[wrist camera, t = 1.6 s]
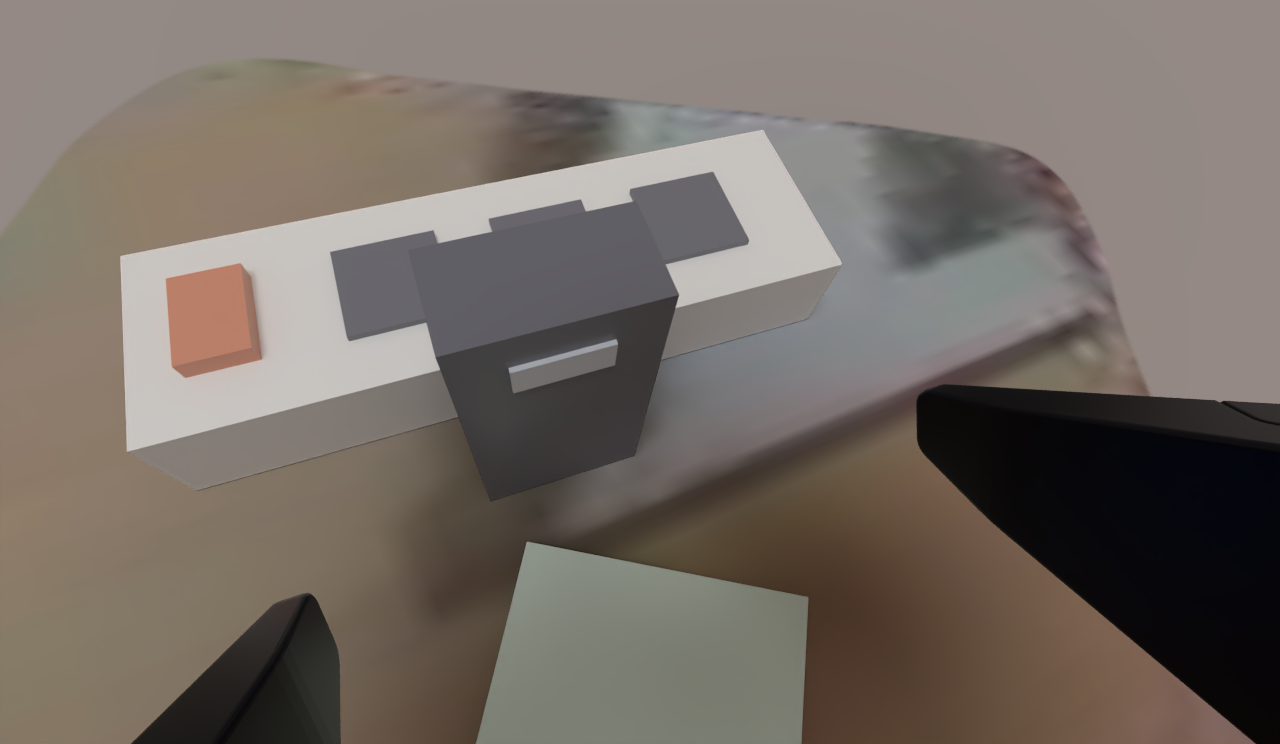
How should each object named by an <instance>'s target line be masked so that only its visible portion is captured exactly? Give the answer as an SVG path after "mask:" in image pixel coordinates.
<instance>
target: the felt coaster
mask: <svg viewBox="0 0 1280 744" xmlns="http://www.w3.org/2000/svg"><path fill="white" fill-rule="evenodd" d="M807 617H808V597H805V596H800V595H795V594H790V593H785V592H780V591H775V590H770V589H765V588H760V587H755V586H749V585H744V584H739V583H734V582H729V581H724V580H719V579H714V578H709V577H704V576H699V575H694V574H689V573H684V572H679V571H674V570H668V569H663V568H658V567H653V566H648V565H643V564H638V563H633V562H628V561H623V560H618V559H613V558H608V557H603V556H598V555H593V554H588V553H582V552H577V551H572V550H567V549H562V548H557V547H552V546H547V545H542V544H537V543H532V542H527V543H526V547H525V551H524V555H523V559H522V563H521V567H520V571H519V575H518V579H517V583H516V587H515V591H514V595H513V599H512V603H511V607H510V611H509V615H508V619H507V623H506V627H505V631H504V635H503V639H502V643H501V647H500V650H499V654H498V658H497V662H496V666H495V670H494V674H493V678H492V682H491V686H490V690H489V694H488V698H487V702H486V706H485V710H484V714H483V718H482V722H481V726H480V730H479V734H478V738H477V742H476V744H801V742H802V721H803V700H804V679H805V659H806V638H807Z"/></svg>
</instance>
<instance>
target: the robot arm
mask: <svg viewBox="0 0 1280 744" xmlns="http://www.w3.org/2000/svg"><path fill="white" fill-rule="evenodd" d="M916 413H917V441H918V445H919V447H920V449H921V451H922V452H923V454H924V455H925V456H926V457H927V458H928V459H929V460H930V461H931V462H932V463H933V464H934V465H935V466H936V467H937V468H938V469H939V470H940V471H941V472H942V473H943V474H944V475H945V476H946V477H947V478H948V479H949V480H950V481H951V482H952V483H953V484H954V485H955V486H956V487H957V488H958V489H959V490H960V491H961V492H962V493H963V494H964V495H965V496H966V497H967V498H968V499H969V501H970V502H971V503H972V504H973V505H974V506H975V507H976V508H977V509H978V510H979V511H980V512H982V513H983V514H984V515H985V516H986V517H987V518H988V519H989V520H990V521H991V522H992V523H993V524H994V525H996V526H997V527H998V528H999V529H1000V530H1001V531H1002V532H1004V533H1005V534H1006V535H1007V536H1008V537H1010V538H1011V539H1012V540H1013V541H1014V542H1015V543H1017V544H1018V545H1019V546H1020V547H1021V548H1023V549H1024V550H1025V551H1026V552H1027V553H1029V554H1030V555H1031V556H1032V557H1033V558H1035V559H1036V560H1037V561H1038V562H1039V563H1041V564H1042V565H1043V566H1044V567H1045V568H1047V569H1048V570H1049V571H1050V572H1051V573H1052V574H1054V575H1055V576H1056V577H1057V578H1058V579H1060V580H1061V581H1062V582H1063V583H1064V584H1066V585H1067V586H1068V587H1069V588H1070V589H1072V590H1073V591H1074V592H1075V593H1076V594H1078V595H1079V596H1080V597H1081V598H1082V599H1083V600H1085V601H1086V602H1087V603H1088V604H1089V605H1091V606H1092V607H1093V608H1094V609H1095V610H1097V611H1098V612H1099V613H1100V614H1101V615H1103V616H1104V617H1105V618H1106V619H1107V620H1109V621H1110V622H1111V623H1112V624H1113V625H1115V626H1116V627H1117V628H1118V629H1119V630H1120V631H1122V632H1123V633H1124V634H1125V635H1126V636H1128V637H1129V638H1130V639H1131V640H1132V641H1134V642H1135V643H1136V644H1137V645H1138V646H1140V647H1141V648H1142V649H1143V650H1144V651H1146V652H1147V653H1148V654H1149V655H1150V656H1152V657H1153V658H1154V659H1155V660H1156V661H1157V662H1159V663H1160V664H1161V665H1162V666H1163V667H1165V668H1166V669H1167V670H1168V671H1169V672H1171V673H1172V674H1173V675H1174V676H1175V677H1177V678H1178V679H1179V680H1180V681H1181V682H1183V683H1184V684H1185V685H1186V686H1187V687H1189V688H1190V689H1191V690H1192V691H1193V692H1194V693H1196V694H1197V695H1198V696H1199V697H1200V698H1202V699H1203V700H1204V701H1205V702H1206V703H1208V704H1209V705H1210V706H1211V707H1212V708H1214V709H1215V710H1216V711H1217V712H1218V713H1220V714H1221V715H1222V716H1223V717H1224V718H1226V719H1227V720H1228V721H1229V722H1230V723H1231V724H1233V725H1234V726H1235V727H1236V728H1237V729H1239V730H1240V731H1241V732H1242V733H1243V734H1245V735H1246V736H1247V737H1248V738H1249V739H1251V740H1252V741H1253V742H1254V743H1255V744H1280V404H1270V403H1269V404H1268V403H1250V402H1234V401H1222V402H1217V401H1215V400H1200V399H1182V398H1166V397H1150V396H1133V395H1117V394H1100V393H1083V392H1067V391H1050V390H1033V389H1017V388H1000V387H984V386H967V385H950V384H942V385H938V386H935V387H932V388H929V389H926V390H924V391H922V392H921V393H920V394H919V395H918V397H917V401H916ZM131 744H341V738H340V664H339V654H338V649H337V646H336V643H335V640H334V638H333V636H332V633H331V631H330V629H329V627H328V624H327V622H326V620H325V617H324V615H323V613H322V611H321V608H320V606H319V604H318V602H317V600H316V598H315V597H314V596H313V595H311V594H309V593H304V594H300V595H297V596H294V597H291V598H288V599H285V600H282V601H279V602H277V603H275V604H273V605H272V606H271V607H270V608H269V609H268V610H267V611H266V612H265V613H264V614H263V615H262V616H261V617H260V618H259V619H258V620H257V621H256V622H255V623H254V624H253V625H252V626H251V627H250V628H249V629H248V630H247V631H246V632H245V633H244V634H243V635H242V636H241V637H240V638H239V639H238V640H237V641H235V642H234V643H233V644H232V645H231V646H230V647H229V648H228V649H227V650H226V651H225V652H224V653H223V654H222V655H221V656H220V657H219V658H218V659H217V660H216V661H215V662H214V663H213V664H212V665H211V666H210V667H209V668H208V669H207V670H206V671H205V672H204V673H203V674H202V675H201V676H200V677H199V678H198V679H197V680H196V681H195V682H194V683H193V684H192V685H191V686H190V687H189V688H187V689H186V690H185V691H184V692H183V693H182V694H181V695H180V696H179V697H178V698H177V699H176V700H175V701H174V702H173V703H172V704H171V705H170V706H169V707H168V708H167V709H166V710H165V711H164V712H163V713H162V714H161V715H160V716H159V717H158V718H157V719H156V720H155V721H154V722H153V723H152V724H151V725H150V726H149V727H148V728H147V729H146V730H145V731H144V732H143V733H142V734H141V735H140V736H138V737H137V738H136V739H135V740H134V741H133V742H132V743H131Z"/></svg>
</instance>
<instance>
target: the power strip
mask: <svg viewBox="0 0 1280 744" xmlns="http://www.w3.org/2000/svg"><path fill="white" fill-rule="evenodd" d="M633 201H637V203H638V205H639V207H640V210H641V212H642V214H643V216H644V218H645V221H646V223H647V225H648V227H649V229H650V232H651V234H652V236H653V238H654V240H655V243H656V245H657V247H658V249H659V251H660V254H661V256H662V258H663V260H664V262H665V265H666V267H667V269H668V271H669V273H670V276H671V278H672V280H673V282H674V284H675V287H676V289H677V291H678V293H679V298H678V301H677V305H676V308H675V312H674V315H673V319H672V323H671V326H670V330H669V333H668V337H667V340H666V344H665V348H664V351H663V355H662V358H661V360H663V359H667V358H670V357H674V356H677V355H681V354H684V353H688V352H692V351H695V350H699V349H702V348H706V347H709V346H713V345H716V344H720V343H724V342H727V341H731V340H734V339H738V338H741V337H745V336H748V335H752V334H756V333H759V332H763V331H766V330H770V329H773V328H777V327H780V326H784V325H788V324H791V323H795V322H798V321H802V320H805V319H808V318H809V316H810V315H811V313H812V312H813V310H814V308H815V307H816V305H817V304H818V302H819V301H820V299H821V297H822V296H823V294H824V293H825V291H826V290H827V288H828V286H829V285H830V283H831V282H832V280H833V279H834V277H835V275H836V274H837V272H838V271H839V269H840V268H841V266H842V263H841V261H840V259H839V258H838V256H837V254H836V253H835V251H834V249H833V247H832V246H831V244H830V242H829V241H828V239H827V237H826V236H825V234H824V232H823V231H822V229H821V227H820V226H819V224H818V222H817V220H816V219H815V217H814V215H813V214H812V212H811V210H810V209H809V207H808V205H807V204H806V202H805V200H804V198H803V197H802V195H801V193H800V192H799V190H798V188H797V187H796V185H795V183H794V182H793V180H792V178H791V177H790V175H789V173H788V171H787V170H786V168H785V166H784V165H783V163H782V161H781V160H780V158H779V156H778V155H777V153H776V151H775V150H774V148H773V146H772V144H771V143H770V141H769V139H768V138H767V136H766V134H765V133H764V131H763V130H759V131H754V132H749V133H744V134H739V135H734V136H729V137H723V138H718V139H713V140H708V141H703V142H698V143H693V144H688V145H683V146H678V147H673V148H668V149H662V150H657V151H652V152H647V153H642V154H637V155H632V156H627V157H622V158H617V159H612V160H607V161H601V162H596V163H591V164H586V165H581V166H576V167H571V168H566V169H561V170H556V171H551V172H545V173H540V174H535V175H530V176H525V177H520V178H515V179H510V180H505V181H500V182H495V183H490V184H484V185H479V186H474V187H469V188H464V189H459V190H454V191H449V192H444V193H439V194H434V195H428V196H423V197H418V198H413V199H408V200H403V201H398V202H393V203H388V204H383V205H378V206H373V207H367V208H362V209H357V210H352V211H347V212H342V213H337V214H332V215H327V216H322V217H317V218H312V219H306V220H301V221H296V222H291V223H286V224H281V225H276V226H271V227H266V228H261V229H256V230H250V231H245V232H240V233H235V234H230V235H225V236H220V237H215V238H210V239H205V240H200V241H195V242H189V243H184V244H179V245H174V246H169V247H164V248H159V249H154V250H149V251H144V252H139V253H134V254H128V255H123V256H120V259H121V288H122V317H123V347H124V376H125V406H126V435H127V452H128V453H130V454H132V455H134V456H135V457H137V458H139V459H141V460H143V461H144V462H146V463H148V464H150V465H152V466H153V467H155V468H157V469H159V470H160V471H162V472H164V473H166V474H168V475H169V476H171V477H173V478H175V479H177V480H178V481H180V482H182V483H184V484H185V485H187V486H189V487H191V488H193V489H194V490H196V491H197V490H201V489H205V488H208V487H212V486H215V485H219V484H222V483H226V482H229V481H233V480H237V479H240V478H244V477H247V476H251V475H254V474H258V473H261V472H265V471H269V470H272V469H276V468H279V467H283V466H286V465H290V464H293V463H297V462H301V461H304V460H308V459H311V458H315V457H318V456H322V455H325V454H329V453H333V452H336V451H340V450H343V449H347V448H350V447H354V446H357V445H361V444H365V443H368V442H372V441H375V440H379V439H382V438H386V437H389V436H393V435H397V434H400V433H404V432H407V431H411V430H414V429H418V428H421V427H425V426H429V425H432V424H436V423H439V422H443V421H446V420H450V419H453V418H457V417H458V415H457V412H456V410H455V407H454V404H453V402H452V399H451V397H450V394H449V391H448V389H447V386H446V384H445V381H444V378H443V376H442V373H441V371H440V368H439V365H438V363H437V360H436V358H435V354H434V350H433V346H432V342H431V338H430V335H429V331H428V327H427V323H426V319H425V315H424V311H423V308H422V304H421V300H420V296H419V292H418V288H417V284H416V281H415V277H414V273H413V269H412V265H411V261H410V257H409V253H408V250H410V249H414V248H419V247H423V246H428V245H433V244H437V243H442V242H447V241H451V240H456V239H461V238H465V237H470V236H475V235H479V234H484V233H489V232H493V231H498V230H503V229H507V228H512V227H517V226H521V225H526V224H531V223H535V222H540V221H544V220H549V219H554V218H558V217H563V216H568V215H572V214H577V213H582V212H586V211H591V210H596V209H600V208H605V207H610V206H614V205H619V204H624V203H628V202H633Z"/></svg>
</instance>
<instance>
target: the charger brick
mask: <svg viewBox="0 0 1280 744" xmlns="http://www.w3.org/2000/svg"><path fill="white" fill-rule="evenodd" d="M408 253H409V257H410V261H411V265H412V269H413V273H414V277H415V281H416V284H417V288H418V292H419V296H420V300H421V304H422V308H423V311H424V315H425V319H426V323H427V327H428V331H429V335H430V338H431V342H432V346H433V350H434V354H435V358H436V360H437V363H438V365H439V368H440V371H441V373H442V376H443V378H444V381H445V384H446V386H447V389H448V391H449V394H450V397H451V399H452V402H453V404H454V407H455V410H456V412H457V415H458V417H459V420H460V423H461V425H462V428H463V430H464V433H465V436H466V438H467V441H468V443H469V446H470V449H471V451H472V454H473V456H474V459H475V462H476V464H477V467H478V469H479V472H480V475H481V477H482V480H483V482H484V485H485V488H486V490H487V493H488V495H489V498H490V501H493V500H496V499H499V498H502V497H506V496H509V495H512V494H515V493H518V492H521V491H524V490H528V489H531V488H534V487H537V486H540V485H543V484H547V483H550V482H553V481H556V480H559V479H562V478H566V477H569V476H572V475H575V474H578V473H581V472H585V471H588V470H591V469H594V468H597V467H600V466H604V465H607V464H610V463H613V462H616V461H619V460H622V459H626V458H629V457H632V456H634V455H635V451H636V448H637V444H638V440H639V437H640V433H641V430H642V426H643V423H644V419H645V415H646V412H647V408H648V405H649V401H650V398H651V394H652V390H653V387H654V383H655V380H656V376H657V373H658V369H659V365H660V362H661V358H662V355H663V351H664V348H665V344H666V340H667V337H668V333H669V330H670V326H671V323H672V319H673V315H674V312H675V308H676V305H677V301H678V298H679V293H678V291H677V289H676V287H675V284H674V282H673V280H672V278H671V276H670V273H669V271H668V269H667V267H666V265H665V262H664V260H663V258H662V256H661V254H660V251H659V249H658V247H657V245H656V243H655V240H654V238H653V236H652V234H651V232H650V229H649V227H648V225H647V223H646V221H645V218H644V216H643V214H642V212H641V210H640V207H639V205H638V203H637V201H633V202H628V203H624V204H619V205H614V206H610V207H605V208H600V209H596V210H591V211H586V212H582V213H577V214H572V215H568V216H563V217H558V218H554V219H549V220H544V221H540V222H535V223H531V224H526V225H521V226H517V227H512V228H507V229H503V230H498V231H493V232H489V233H484V234H479V235H475V236H470V237H465V238H461V239H456V240H451V241H447V242H442V243H437V244H433V245H428V246H423V247H419V248H414V249H410V250H408Z"/></svg>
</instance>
